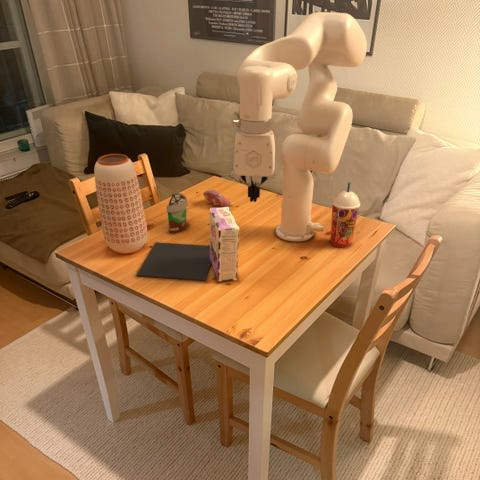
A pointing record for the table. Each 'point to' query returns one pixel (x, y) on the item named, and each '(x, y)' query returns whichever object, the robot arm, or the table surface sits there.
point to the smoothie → (344, 217)
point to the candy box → (224, 243)
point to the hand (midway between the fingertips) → (253, 199)
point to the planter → (120, 204)
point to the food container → (177, 212)
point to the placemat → (177, 262)
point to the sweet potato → (216, 198)
